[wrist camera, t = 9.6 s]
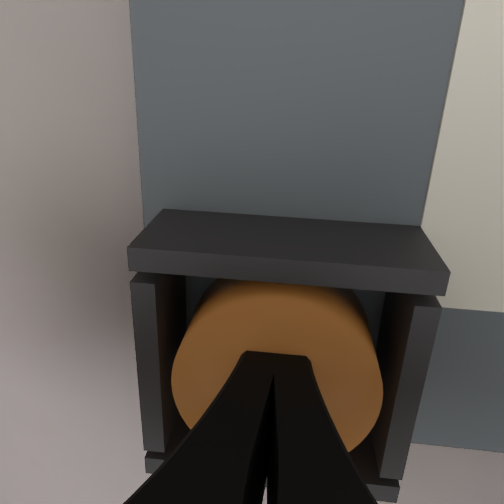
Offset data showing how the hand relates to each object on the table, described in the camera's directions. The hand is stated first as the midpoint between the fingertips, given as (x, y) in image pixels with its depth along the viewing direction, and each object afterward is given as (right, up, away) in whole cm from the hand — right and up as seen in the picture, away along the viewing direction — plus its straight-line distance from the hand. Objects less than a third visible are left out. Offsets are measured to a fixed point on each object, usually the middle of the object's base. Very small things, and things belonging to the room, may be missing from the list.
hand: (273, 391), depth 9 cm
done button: (0, +1, +2) cm, 2 cm away
